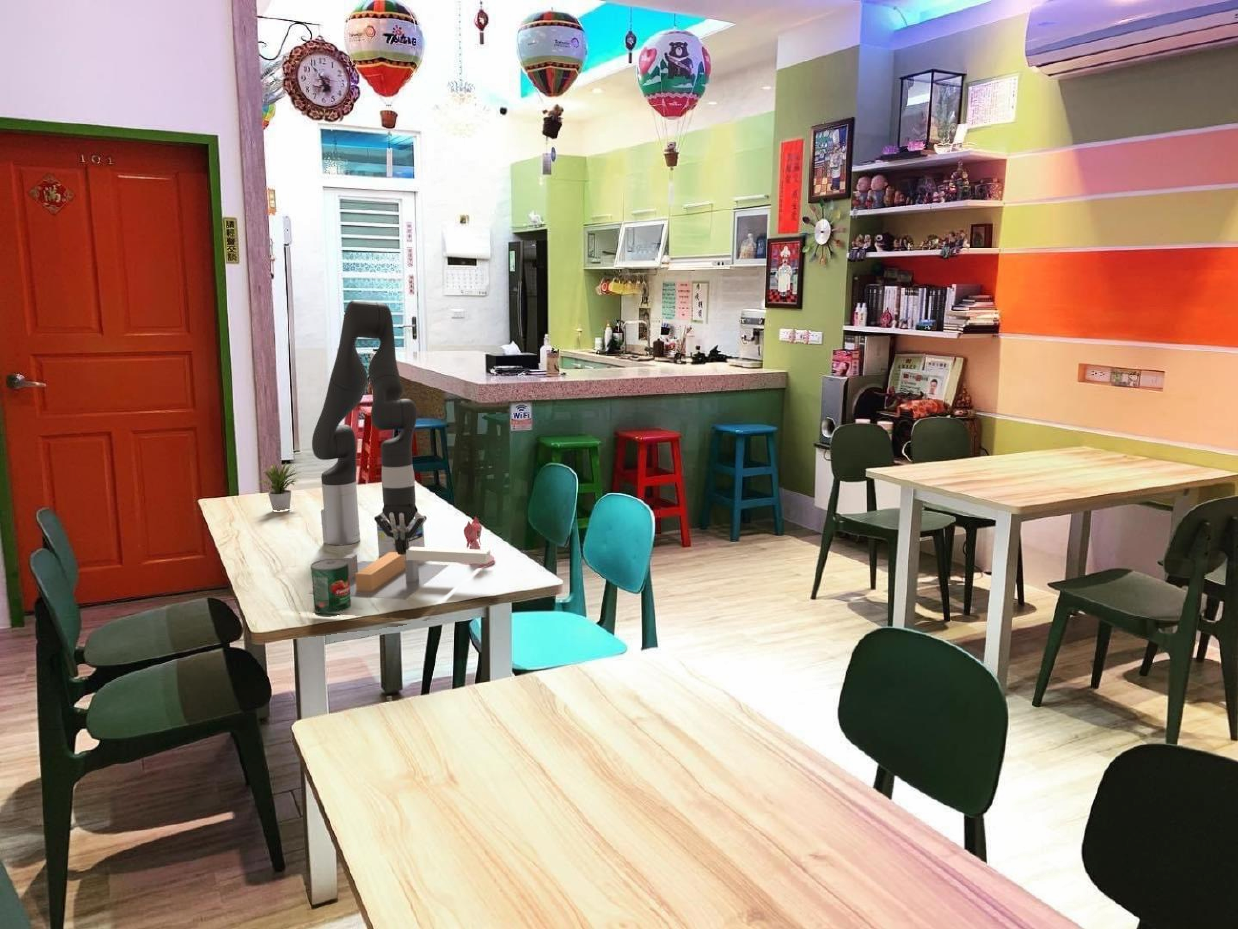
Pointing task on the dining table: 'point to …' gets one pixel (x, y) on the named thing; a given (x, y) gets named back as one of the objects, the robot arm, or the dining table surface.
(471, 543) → the toy figure
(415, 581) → the cable board
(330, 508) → the robot arm
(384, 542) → the light bulb box
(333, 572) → the canned tomato
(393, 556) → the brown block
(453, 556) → the cream bar
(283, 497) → the house plant
